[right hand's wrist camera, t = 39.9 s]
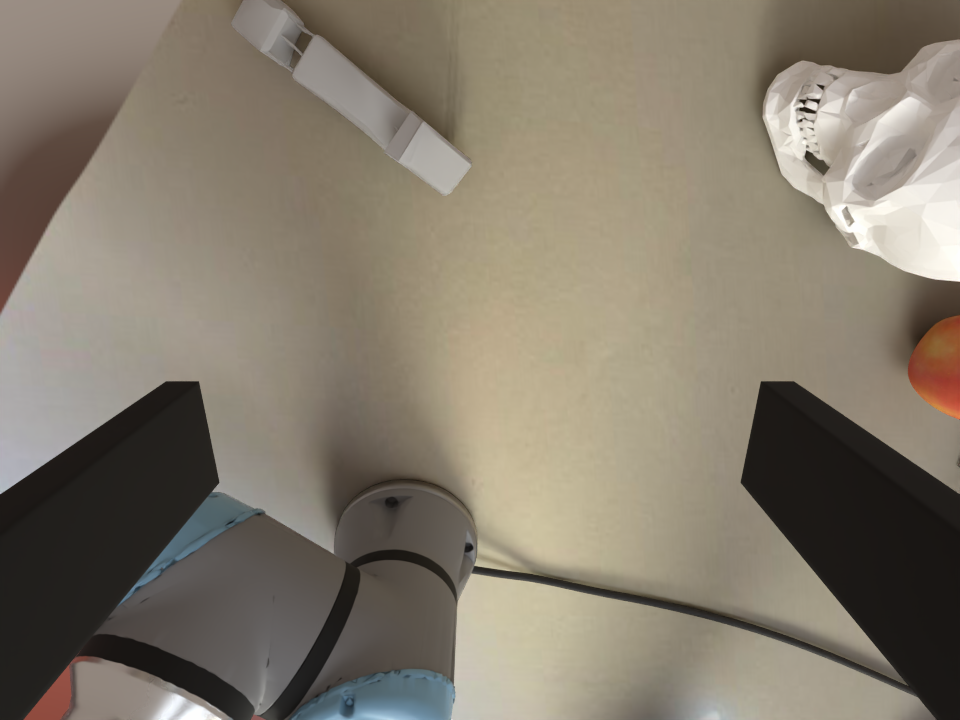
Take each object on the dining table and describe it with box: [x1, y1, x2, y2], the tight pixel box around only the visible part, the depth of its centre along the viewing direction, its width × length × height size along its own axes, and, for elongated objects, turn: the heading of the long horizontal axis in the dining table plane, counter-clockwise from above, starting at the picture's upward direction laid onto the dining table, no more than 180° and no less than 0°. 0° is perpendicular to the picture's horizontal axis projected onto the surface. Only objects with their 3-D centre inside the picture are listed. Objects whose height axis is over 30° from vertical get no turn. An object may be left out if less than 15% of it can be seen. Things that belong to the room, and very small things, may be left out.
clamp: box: [231, 0, 472, 196], centre depth 39 cm, size 20×4×7 cm, turn 52°
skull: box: [763, 39, 960, 281], centre depth 36 cm, size 13×22×16 cm, turn 64°
